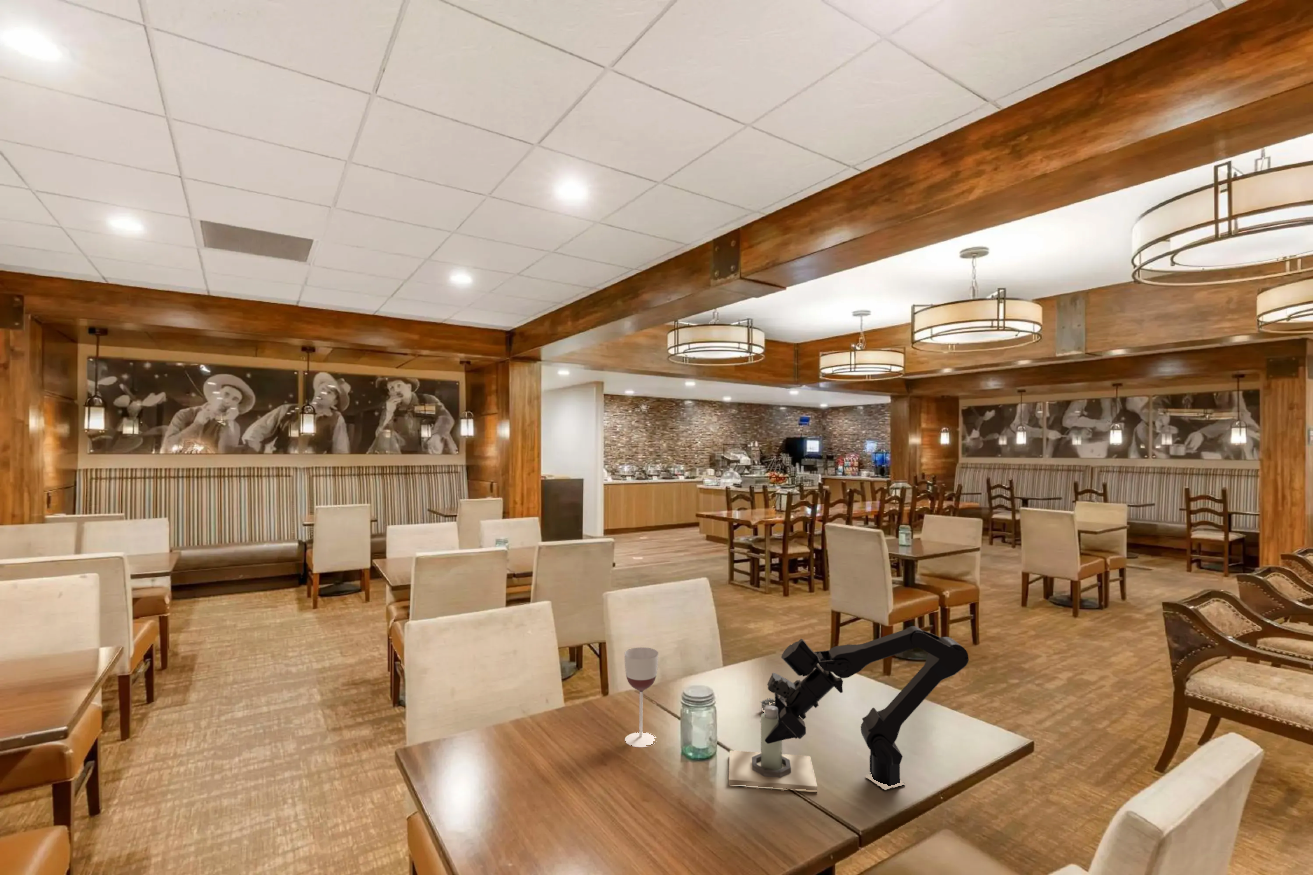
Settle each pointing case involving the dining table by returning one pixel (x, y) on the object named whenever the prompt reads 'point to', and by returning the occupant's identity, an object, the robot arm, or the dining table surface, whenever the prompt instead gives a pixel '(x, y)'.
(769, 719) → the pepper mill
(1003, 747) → the dining table surface
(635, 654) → the wineglass
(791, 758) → the board
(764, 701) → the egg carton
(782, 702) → the robot arm
